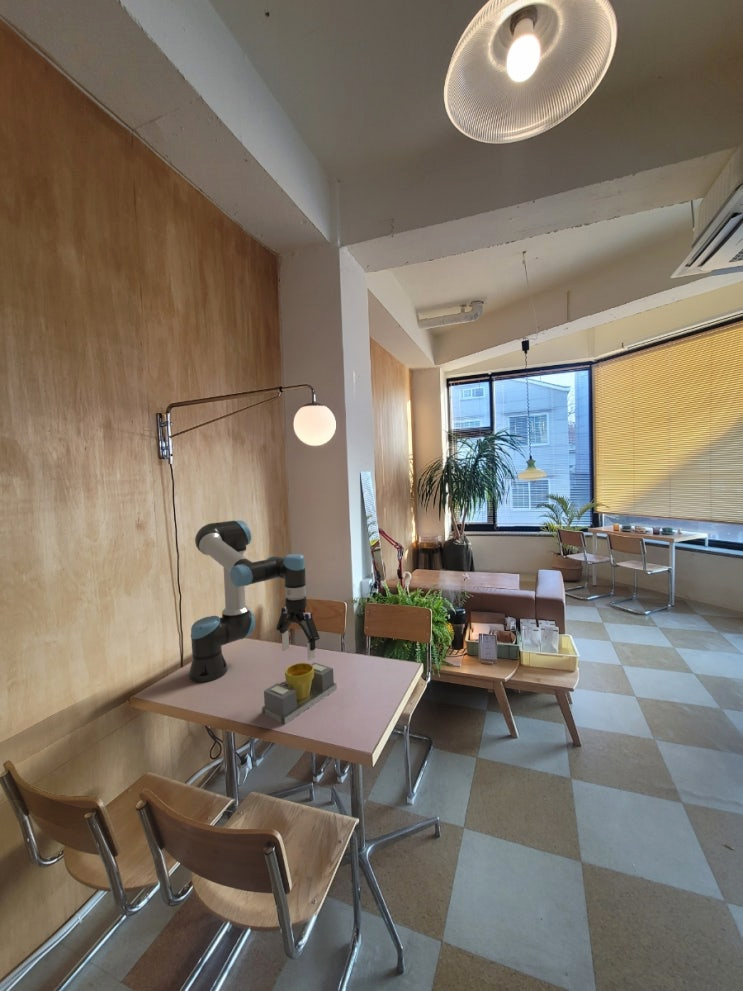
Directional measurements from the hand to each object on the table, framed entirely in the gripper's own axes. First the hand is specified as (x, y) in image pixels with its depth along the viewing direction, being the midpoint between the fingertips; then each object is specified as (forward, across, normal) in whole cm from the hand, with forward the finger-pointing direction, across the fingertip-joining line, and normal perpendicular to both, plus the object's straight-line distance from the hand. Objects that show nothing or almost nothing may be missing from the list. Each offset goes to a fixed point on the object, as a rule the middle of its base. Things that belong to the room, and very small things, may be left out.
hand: (298, 653), depth 144 cm
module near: (+15, +1, -10) cm, 18 cm away
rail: (+17, +1, 0) cm, 17 cm away
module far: (+15, +1, +9) cm, 18 cm away
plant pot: (+16, +1, 0) cm, 16 cm away
